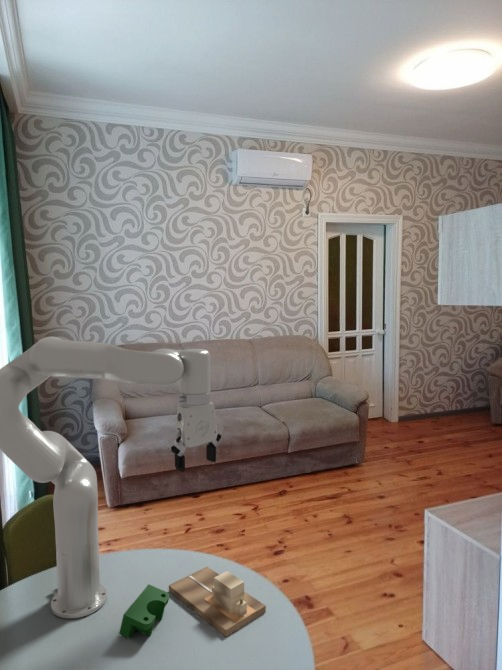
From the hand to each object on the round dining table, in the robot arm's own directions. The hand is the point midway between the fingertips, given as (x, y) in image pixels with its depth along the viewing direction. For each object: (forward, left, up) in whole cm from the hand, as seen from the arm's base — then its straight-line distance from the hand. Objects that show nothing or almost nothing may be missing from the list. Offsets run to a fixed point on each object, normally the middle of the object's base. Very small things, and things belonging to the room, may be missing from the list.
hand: (196, 465), depth 122 cm
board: (+10, -2, -30) cm, 32 cm away
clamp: (+6, -19, -31) cm, 36 cm away
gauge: (+15, -2, -29) cm, 32 cm away
